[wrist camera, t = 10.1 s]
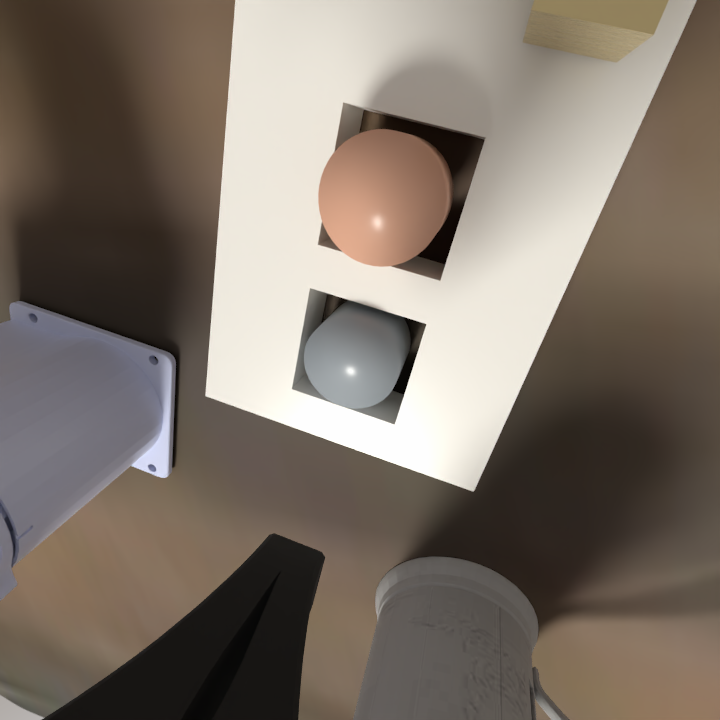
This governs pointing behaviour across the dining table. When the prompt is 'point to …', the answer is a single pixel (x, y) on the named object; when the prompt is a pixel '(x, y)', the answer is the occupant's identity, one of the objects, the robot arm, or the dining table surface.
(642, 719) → the dining table surface
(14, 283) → the dining table surface
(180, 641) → the robot arm
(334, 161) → the terracotta button
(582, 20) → the brass slider
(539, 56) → the white flat block
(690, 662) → the dining table surface
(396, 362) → the slate button
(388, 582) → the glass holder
